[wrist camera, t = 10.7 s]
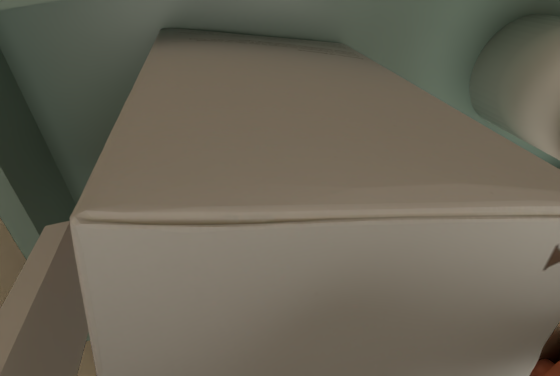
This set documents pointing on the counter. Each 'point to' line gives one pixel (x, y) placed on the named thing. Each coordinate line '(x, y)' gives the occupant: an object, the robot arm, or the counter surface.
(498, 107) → the jar
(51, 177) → the tray
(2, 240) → the counter surface
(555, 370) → the teapot
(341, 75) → the supplement box
